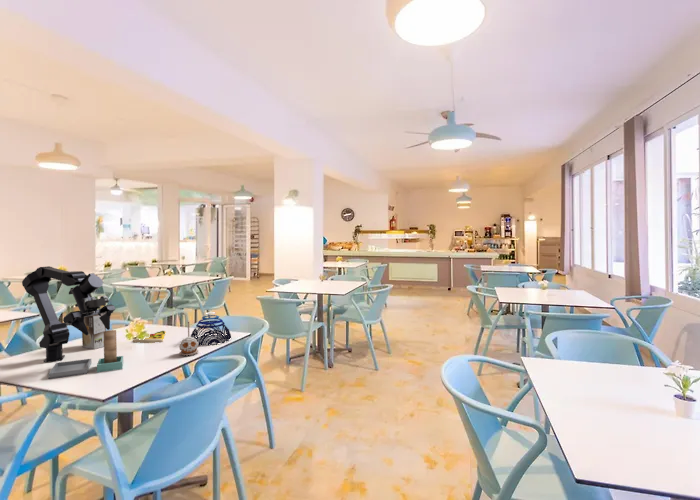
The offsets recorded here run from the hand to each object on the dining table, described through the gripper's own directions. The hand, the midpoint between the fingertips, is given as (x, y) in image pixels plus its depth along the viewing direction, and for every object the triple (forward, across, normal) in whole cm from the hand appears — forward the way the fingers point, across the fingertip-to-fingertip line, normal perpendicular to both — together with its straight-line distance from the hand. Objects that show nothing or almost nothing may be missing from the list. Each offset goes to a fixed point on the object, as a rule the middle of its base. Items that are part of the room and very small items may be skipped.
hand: (98, 332), depth 158 cm
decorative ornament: (+24, +26, -12) cm, 38 cm away
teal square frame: (+15, +1, +3) cm, 15 cm away
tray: (+9, -7, +13) cm, 17 cm away
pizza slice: (+6, +43, +20) cm, 48 cm away
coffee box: (-2, +20, +33) cm, 38 cm away
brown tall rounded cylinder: (+15, +1, +3) cm, 15 cm away
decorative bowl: (+21, +48, -6) cm, 53 cm away
